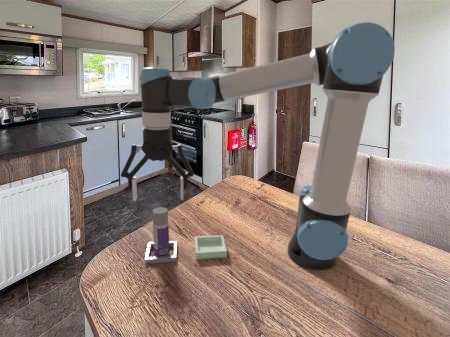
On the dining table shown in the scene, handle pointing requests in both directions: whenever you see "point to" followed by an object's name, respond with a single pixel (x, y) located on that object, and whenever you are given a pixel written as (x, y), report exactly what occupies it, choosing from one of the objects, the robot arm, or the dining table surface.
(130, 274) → the dining table surface
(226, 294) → the dining table surface
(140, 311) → the dining table surface
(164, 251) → the container
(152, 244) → the collar
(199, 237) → the tray
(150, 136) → the robot arm
